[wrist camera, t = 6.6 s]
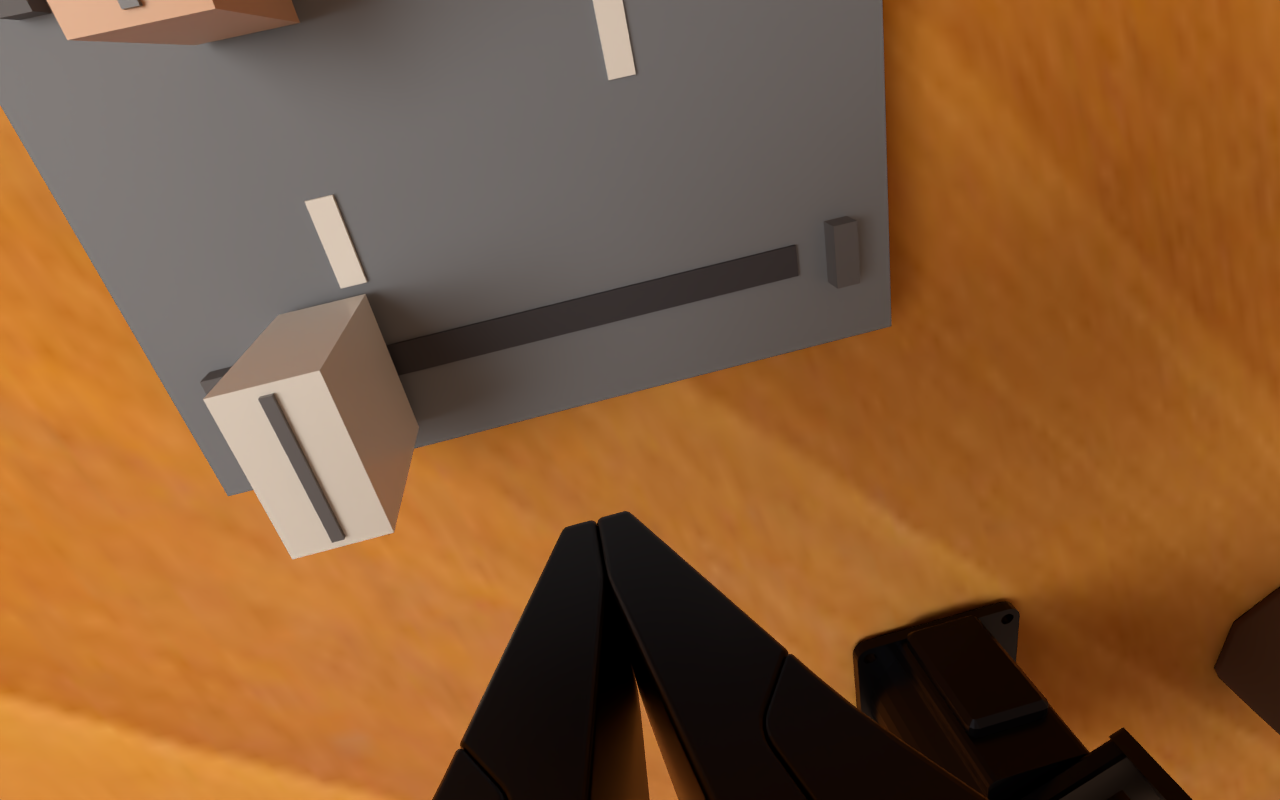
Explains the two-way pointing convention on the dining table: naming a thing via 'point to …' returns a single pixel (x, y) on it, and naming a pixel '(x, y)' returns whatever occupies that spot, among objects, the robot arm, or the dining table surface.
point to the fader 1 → (169, 19)
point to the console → (476, 189)
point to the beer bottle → (1255, 659)
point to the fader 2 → (320, 426)
